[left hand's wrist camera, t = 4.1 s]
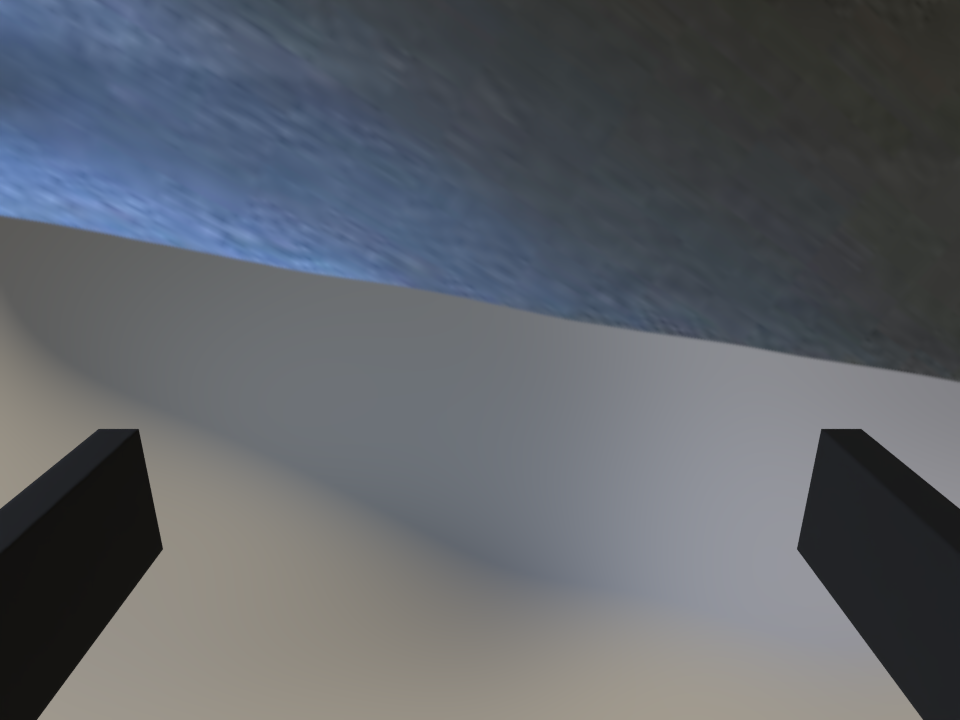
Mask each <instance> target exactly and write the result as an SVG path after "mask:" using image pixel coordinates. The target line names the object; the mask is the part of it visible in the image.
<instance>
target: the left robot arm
mask: <svg viewBox="0 0 960 720" xmlns="http://www.w3.org/2000/svg"><path fill="white" fill-rule="evenodd" d="M162 550H163V547H162V542H161V537H160V532H159V527H158V522H157V518H156V513H155V508H154V503H153V498H152V493H151V488H150V483H149V478H148V473H147V468H146V463H145V458H144V453H143V448H142V443H141V439H140V434H139V429H98V430H97V431H96V432H95V433H93V434H92V435H91V436H90V437H88V438H87V439H86V440H85V441H83V442H82V443H81V444H80V445H78V446H77V447H76V448H75V449H74V450H72V451H71V452H70V453H69V454H67V455H66V456H65V457H64V458H62V459H61V460H60V461H59V462H58V463H56V464H55V465H54V466H53V467H51V468H50V469H49V470H48V471H46V472H45V473H44V474H43V475H42V476H40V477H39V478H38V479H37V480H35V481H34V482H33V483H32V484H30V485H29V486H28V487H27V488H25V489H24V490H23V491H22V492H21V493H19V494H18V495H17V496H16V497H14V498H13V499H12V500H11V501H9V502H8V503H7V504H6V505H5V506H3V507H2V508H1V509H0V720H37V719H38V717H39V716H40V715H41V713H42V712H43V711H44V709H45V708H46V707H47V705H48V704H49V703H50V701H51V700H52V699H53V697H54V696H55V694H56V693H57V692H58V690H59V689H60V688H61V686H62V685H63V684H64V682H65V681H66V680H67V678H68V677H69V675H70V674H71V673H72V671H73V670H74V669H75V667H76V666H77V665H78V663H79V662H80V661H81V659H82V658H83V656H84V655H85V654H86V653H87V651H88V650H89V648H90V647H91V646H92V644H93V643H94V642H95V640H96V639H97V638H98V636H99V635H100V634H101V632H102V631H103V629H104V628H105V627H106V625H107V624H108V623H109V621H110V620H111V619H112V617H113V616H114V615H115V613H116V612H117V611H118V609H119V608H120V607H121V605H122V604H123V602H124V601H125V600H126V598H127V597H128V596H129V594H130V593H131V592H132V590H133V589H134V588H135V586H136V585H137V583H138V582H139V581H140V579H141V578H142V577H143V575H144V574H145V573H146V571H147V570H148V569H149V567H150V566H151V565H152V563H153V562H154V560H155V559H156V558H157V556H158V555H159V554H160V552H161V551H162ZM797 550H798V551H799V552H800V554H801V555H802V556H803V558H804V559H805V560H806V562H807V563H808V565H809V566H810V567H811V569H812V570H813V571H814V573H815V574H816V575H817V577H818V578H819V579H820V581H821V582H822V583H823V585H824V586H825V587H826V589H827V590H828V592H829V593H830V594H831V596H832V597H833V598H834V600H835V601H836V602H837V604H838V605H839V606H840V608H841V609H842V610H843V612H844V613H845V615H846V616H847V617H848V619H849V620H850V621H851V623H852V624H853V625H854V627H855V628H856V630H857V631H858V632H859V634H860V635H861V636H862V638H863V639H864V640H865V642H866V643H867V644H868V646H869V647H870V648H871V650H872V651H873V653H874V654H875V655H876V657H877V658H878V659H879V661H880V662H881V663H882V665H883V666H884V667H885V669H886V670H887V671H888V673H889V674H890V676H891V677H892V678H893V680H894V681H895V682H896V684H897V685H898V686H899V688H900V689H901V690H902V692H903V693H904V695H905V696H906V697H907V698H908V700H909V701H910V703H911V704H912V705H913V707H914V708H915V709H916V711H917V712H918V713H919V715H920V716H921V717H922V719H923V720H960V509H959V508H958V507H957V506H955V505H954V504H953V503H952V502H951V501H949V500H948V499H947V498H946V497H944V496H943V495H942V494H941V493H939V492H938V491H937V490H936V489H935V488H933V487H932V486H931V485H930V484H928V483H927V482H926V481H925V480H923V479H922V478H921V477H920V476H918V475H917V474H916V473H915V472H914V471H912V470H911V469H910V468H909V467H907V466H906V465H905V464H904V463H902V462H901V461H900V460H899V459H897V458H896V457H895V456H894V455H893V454H891V453H890V452H889V451H888V450H886V449H885V448H884V447H883V446H882V445H880V444H879V443H878V442H877V441H875V440H874V439H873V438H872V437H870V436H869V435H868V434H867V433H865V432H864V431H863V430H862V429H821V434H820V439H819V444H818V449H817V453H816V458H815V464H814V469H813V473H812V478H811V483H810V488H809V493H808V498H807V503H806V508H805V513H804V518H803V522H802V527H801V532H800V537H799V542H798V547H797Z"/></svg>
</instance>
